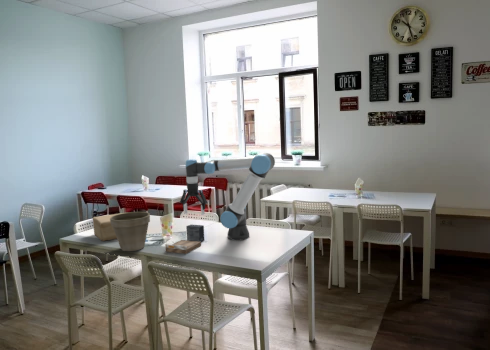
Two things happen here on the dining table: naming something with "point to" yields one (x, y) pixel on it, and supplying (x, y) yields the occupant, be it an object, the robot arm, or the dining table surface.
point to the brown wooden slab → (182, 246)
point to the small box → (195, 233)
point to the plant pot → (131, 229)
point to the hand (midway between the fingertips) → (194, 213)
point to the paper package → (104, 227)
